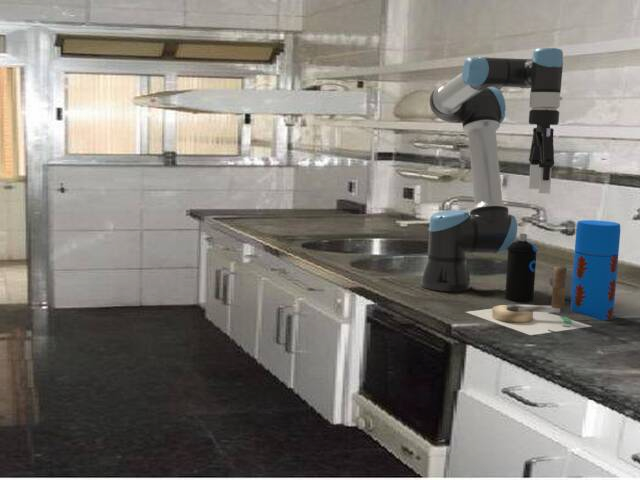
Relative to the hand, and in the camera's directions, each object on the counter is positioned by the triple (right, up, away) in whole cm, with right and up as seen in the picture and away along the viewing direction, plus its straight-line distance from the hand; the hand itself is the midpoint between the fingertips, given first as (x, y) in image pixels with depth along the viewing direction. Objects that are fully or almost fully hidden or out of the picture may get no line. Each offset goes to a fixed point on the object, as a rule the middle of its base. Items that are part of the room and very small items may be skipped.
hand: (539, 191), depth 205 cm
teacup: (+15, -30, +21) cm, 40 cm away
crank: (-5, -33, -9) cm, 34 cm away
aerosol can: (-2, -31, +13) cm, 34 cm away
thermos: (+15, -33, +2) cm, 36 cm away
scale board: (-6, -34, -9) cm, 36 cm away
